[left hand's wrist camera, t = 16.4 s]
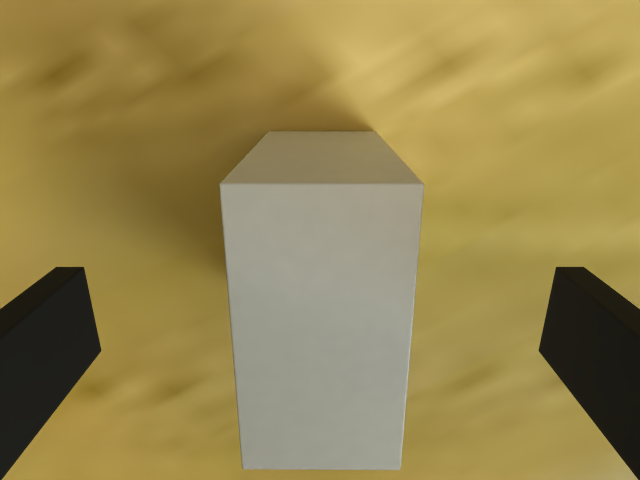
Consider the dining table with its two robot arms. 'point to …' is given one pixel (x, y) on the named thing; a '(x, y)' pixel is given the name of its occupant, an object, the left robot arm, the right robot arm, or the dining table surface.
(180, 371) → the dining table surface
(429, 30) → the dining table surface
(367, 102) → the dining table surface
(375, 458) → the brick
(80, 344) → the left robot arm
